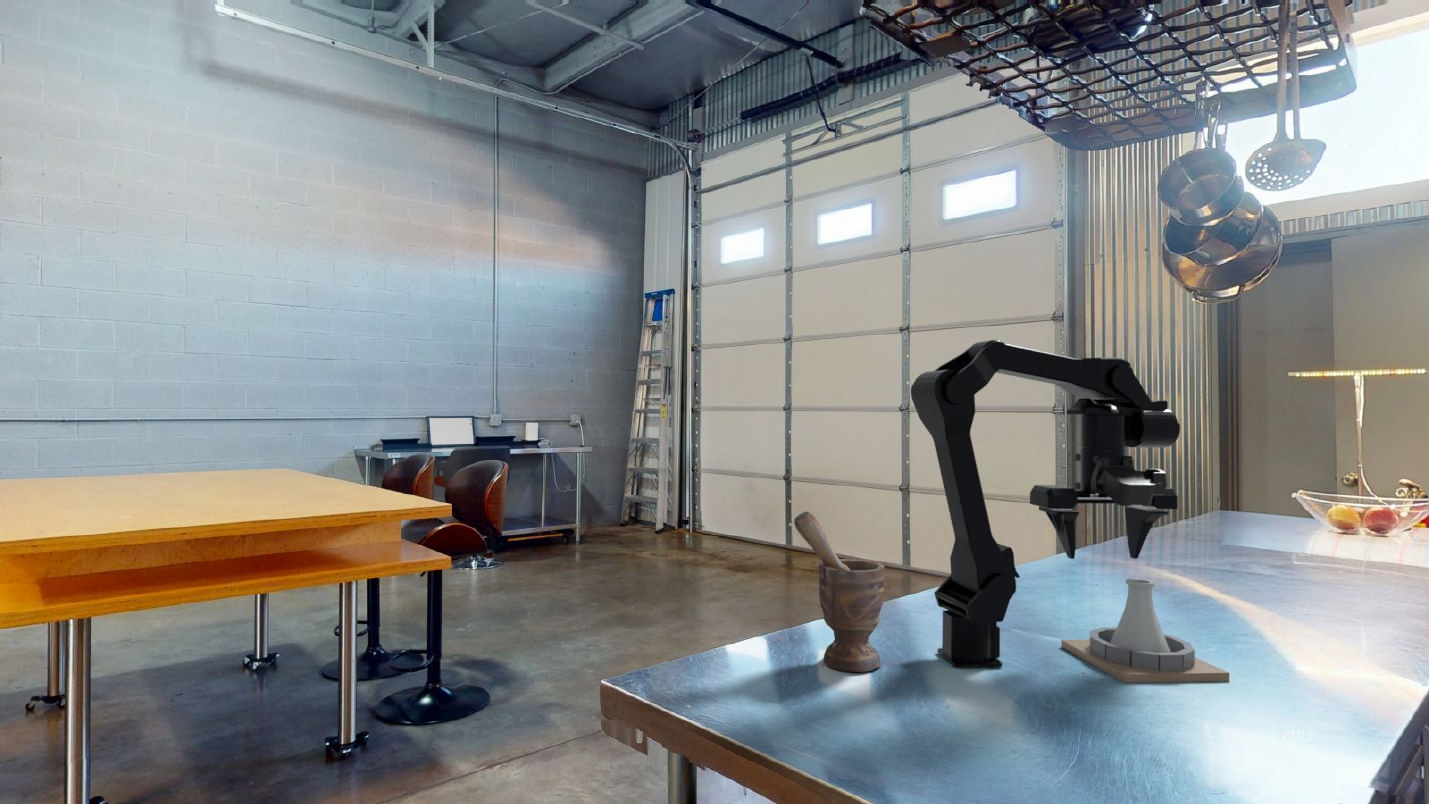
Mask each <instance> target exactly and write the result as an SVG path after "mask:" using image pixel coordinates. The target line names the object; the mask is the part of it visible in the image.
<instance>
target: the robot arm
mask: <svg viewBox="0 0 1429 804" xmlns="http://www.w3.org/2000/svg"><path fill="white" fill-rule="evenodd" d="M995 374H1000V375H1001V374H1002V375H1007V376H1012V377H1017V378H1020V379H1021V378H1022V379H1028V380H1032V381H1037V382H1043V383H1047V384H1053V385H1055V386H1058V387H1059V388H1061V389H1063V390H1064V391H1065V392H1066V393H1069V394H1071V395H1074V396H1075V397H1078V399H1077V400H1076V402H1075V403H1074V404H1073V405H1072V406H1070V407H1069V408H1068V409H1067V410H1066V414H1067V415H1069V416H1080V449H1079V450H1080V452H1079V453H1075V455H1074V457H1075V459H1074V460H1075V461H1076V462H1080V464H1079V465H1080V466H1079V467H1080V471H1079V472H1080V477H1079V479H1080V480H1079V481H1075V482H1074V484H1075V486H1074V487H1075V488H1074V487H1069V486H1064V485H1059V484H1043V485H1042V484H1034V485H1033V487H1032V488H1031V490H1030V492H1029V504H1030V505H1033V506H1038V510H1039V511H1042V512H1045V513H1046V516H1047V518H1048V519H1049V520H1050V522H1051V524H1052V526H1053V528H1054V530H1055V532H1056V534H1057V537H1058V538H1059V541H1060V544H1061V545H1062V548H1063V550H1064V551H1065V554H1066V557H1067V558H1069V559H1071V560H1074V559H1075V556H1076V521H1077V518H1078V517H1079V515H1080V511H1077V510H1074V507H1076V506H1077V505H1078V504H1116V505H1118V506H1122V507H1124V513H1125V514H1124V515H1125V525H1126V526H1125V527H1126V538H1127V548H1128V552H1129V556H1130V558H1131V559H1133V560H1134V559H1135V560H1136V559H1138V558H1139V556H1140V554H1141V551H1142V549H1143V546H1144V544H1145V542H1146V540H1147V537H1148V535H1149V533H1150V530H1151V528H1152V527H1153V525H1154V523H1156V521H1157V520H1159V519H1160V518H1161V517H1163V516H1168V515H1169V514H1170V511H1167V510H1178V509H1179V495H1178V494H1177V492H1176V491H1175V490H1174V488H1171V487H1170V488H1169V487H1168V481H1167V480H1168V479H1167V473H1166V472H1165V471H1164V470H1162V469H1161V468H1147V469H1146V470H1145V471H1144V470H1136V469H1135V467H1134V460H1133V456H1132V455H1127V448H1169V447H1171V446H1173V445H1174V444H1175V443H1176V441H1178V438H1179V436H1180V432H1181V424H1180V423H1179V421H1178V419H1177V416H1176V415H1175V413H1174V412H1173V411H1172V410H1170V409H1168V407H1169V406H1168V405H1169V404H1168V401H1167V400H1151V398H1150V397H1149V395H1148V394H1147V392H1146V391H1145V390H1146V389H1144V387H1143V385H1141V382H1140V381H1139V379H1138V377H1137V376H1136V375H1135V373H1134V370H1133V368H1132V366H1131V362H1129V361H1128V360H1127V359H1125V358H1122V357H1080V358H1079V357H1072V356H1065V355H1060V354H1056V353H1052V352H1047V351H1042V350H1038V349H1033V348H1027V347H1023V346H1018V345H1013V344H1009V343H1005V342H1002V341H1001V340H999V339H990V340H984V341H979V342H976V343H974V344H972V345H971V346H969V347H968V348H967V349H966V350H965V351H964V352H962V353H961V354H959V355H956V356H955V357H953V358H952V359H950V360H948V361H947V362H945V363H943V364H942V365H940V366H938V367H937V368H935V370H931V371H925V372H923V373H920V374H919V376H917V377H916V378H915V380H914V381H913V384H911V387H910V397H911V400H912V403H913V405H914V409H915V410H916V411H915V412H917V415H918V418H919V420H920V421H921V422H922V424H923V426H924V427H925V428H926V430H927V432H928V433H929V434H930V436H931V437H932V440H933V442H934V449H935V452H936V457H937V462H938V468H939V470H940V475H941V479H942V485H943V489H944V494H945V497H946V503H947V507H948V511H949V516H950V520H951V526H952V530H953V535H954V542H953V543H954V544H953V547H952V551H951V553H950V558H949V559H950V575H949V576H948V577H947V578H946V579H945V580H944V581H943V582H942V583H941V584H940V586H939V587H938V588H937V589H935V591H934V598H935V601H936V603H937V605H938V607H940V608H942V609H945V610H942V639H941V640H942V643H941V644H942V646H941V648H937V653H938V654H939V655H940V656H941V657H943V658H944V659H945V660H947V662H948V663H950V664H951V665H952V666H953V667H955V668H997V667H998V668H1002V667H1003V662H1002V661H1001V660H999V658H1000V657H1001V627H1000V626H999V625H998V623H1001V622H1004V619H1005V616H1006V613H1007V611H1008V607H1009V604H1010V601H1011V599H1012V597H1013V595H1014V594H1016V593H1017V592H1016V591H1017V579H1019V578H1020V577H1021V576H1020V574H1019V572H1018V571H1017V568H1016V566H1015V555H1014V552H1013V549H1012V547H1010V546H1006V545H1004V544H1002V543H1001V544H1000V543H998V542H997V541H996V539H995V538H994V536H993V534H992V528H991V524H990V519H989V516H988V514H989V513H988V509H987V505H986V502H985V501H986V500H985V497H984V493H983V492H984V491H983V487H982V483H981V477H980V474H979V469H978V465H977V464H978V463H977V460H976V459H977V458H976V455H975V450H974V447H973V441H972V437H971V430H972V425H973V422H974V418H975V414H976V397H975V396H976V394H977V393H978V392H980V391H981V390H983V388H985V387H986V386H987V385H988V384H989V383H990V381H991V380H992V379H993V377H994V375H995Z"/></svg>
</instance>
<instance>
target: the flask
mask: <svg viewBox="0 0 1429 804" xmlns="http://www.w3.org/2000/svg"><path fill="white" fill-rule="evenodd" d="M1125 583H1126V585H1127V587H1128V588H1127V597H1126V598H1127V599H1126V602H1125V608H1124V610H1123V612H1122V614H1121V617H1120V620H1119V621H1118V624H1117V626H1116V627H1117V628H1116V630H1115V632H1114V634H1113V637H1112V639H1111V641H1110V644H1113V645H1117V646H1121V647H1125V648H1129V649H1132V650H1140V651H1148V652H1156V653H1163V652H1170V649H1169V647H1168V644H1167V642H1166V639H1165V637H1164V635H1163V634H1164V633H1163V630H1162V628H1161V627H1162V626H1161V624H1160V621H1159V618H1158V617H1157V613H1156V611H1155V610H1156V609H1155V606H1154V601H1153V588H1154V587H1155V584H1156V583H1155V582H1154V581H1152V580H1149V579H1144V578H1127V579H1125Z"/></svg>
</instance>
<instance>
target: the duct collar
mask: <svg viewBox="0 0 1429 804" xmlns="http://www.w3.org/2000/svg"><path fill="white" fill-rule="evenodd" d="M1116 628H1117V626H1116V627H1113V626H1112V627H1110V626H1109V627H1098V628H1095V629H1092V630H1089V639H1061V642H1060V643H1061V645H1060V646H1061V648H1063V649H1064V650H1066V651H1068V652H1070V653H1072V654H1073V655H1074V656H1077V657H1078V658H1080V659H1082V660H1084V661H1086V662H1087V663H1088V664H1091V665H1092V666H1094V667H1096V668H1098V669H1100V670H1101V671H1103V672H1105V673H1106V674H1108V675H1110V676H1111V677H1114V678H1115V679H1117V680H1119V681H1121V682H1122V683H1124V684H1125V683H1126V684H1127V683H1130V684H1131V683H1175V682H1177V683H1178V682H1187V683H1188V682H1223V681H1224V682H1226V681H1227V682H1228V681H1230V672H1228V671H1226V670H1224V669H1222V668H1219V667H1217V666H1215V665H1213V664H1211V663H1208V662H1206V661H1204V660H1202V659H1199V658H1197V657H1196V655H1195V654H1196V653H1195V651H1196V650H1195V649H1194V647H1193V645H1192V643H1190V642H1188V641H1185V640H1183V639H1181V638H1179V637H1176V636H1173V635H1169V634H1165V633H1163V635H1164V637H1165V639H1166V642H1167V644H1168V647H1169V649H1170V652H1163V653H1156V652H1148V651H1140V650H1132V649H1129V648H1125V647H1121V646H1117V645H1113V644H1110V641H1111V639H1112V637H1113V634H1114V632H1115V630H1116Z"/></svg>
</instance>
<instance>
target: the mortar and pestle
mask: <svg viewBox="0 0 1429 804" xmlns="http://www.w3.org/2000/svg"><path fill="white" fill-rule="evenodd" d="M793 523H794V527H795V529H796V530H797V532H798V533H799V534H800V536H801V537H802V538H803V539H804V540H805V542H806V543H807V544H808V545H809V546H810V547H811V549H812V550H813V551H814V553H815V554H816V555H817V556H818V557H819V558H818V559H820V561H822V562H820V563H819V564H818V581H819V583H818V595H819V596H818V597H819V603H820V607H821V610H822V612H823V619H824V622H825V624H826V625H827V626H828V627H829V628H830V629H831V630H832V631H833V636H834V640H833V642H832V643H830V644H829V645H828V646H827V647H826V649H825V652H824V654H823V663H824V664H825V665H826V666H827V667H828V668H830V669H834V670H837V671H843V672H853V673H854V672H855V673H858V672H860V673H862V672H864V673H865V672H870V671H873V670H875V669H878V668H880V667H882V662H881V659H880V655H879V653H878V651H877V649H876V648H875V647H873V645H872V643H870V641H869V640H870V636H871V634H872V633H873V632H874V630H875V629H876V628H877V627H878V625H879V623H880V620H881V617H880V615H881V611H882V607H883V605H884V601H885V573H886V571H885V565H884V564H882V563H881V562H876V561H875V560H871V561H870V560H867V559H848V558H844V559H843V558H842V559H841V558H839V557H838V556H837V554H836V553H835V551H834V549H833V547H832V546H831V543H830V542H829V540H828V538H827V536H826V533H825V532H824V531H823V529H822V527H821V525H820V523H819V522H818V520H817V518H815V516H814V515H813V514H812V513H811V512H809V511H803V512H802V513H800V514H798V515H797V516H796V517H794V520H793Z"/></svg>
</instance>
